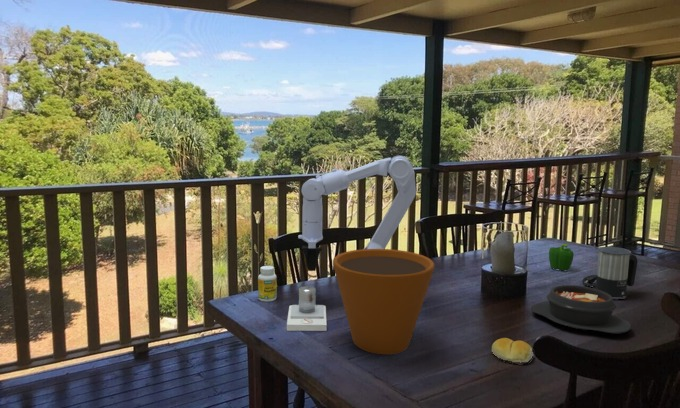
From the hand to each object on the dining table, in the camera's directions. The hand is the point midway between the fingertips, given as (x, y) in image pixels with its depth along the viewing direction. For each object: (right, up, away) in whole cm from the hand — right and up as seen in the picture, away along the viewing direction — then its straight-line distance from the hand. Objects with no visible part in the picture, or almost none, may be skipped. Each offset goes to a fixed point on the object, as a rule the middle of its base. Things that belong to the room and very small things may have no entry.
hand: (311, 266), depth 153 cm
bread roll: (+48, -17, -32) cm, 60 cm away
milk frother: (+93, -10, +17) cm, 95 cm away
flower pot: (+18, -15, -25) cm, 34 cm away
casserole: (+72, -14, -11) cm, 75 cm away
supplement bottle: (-13, -10, +3) cm, 17 cm away
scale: (-1, -13, -13) cm, 18 cm away
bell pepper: (+89, -6, +41) cm, 98 cm away
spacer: (-1, -10, -12) cm, 16 cm away
